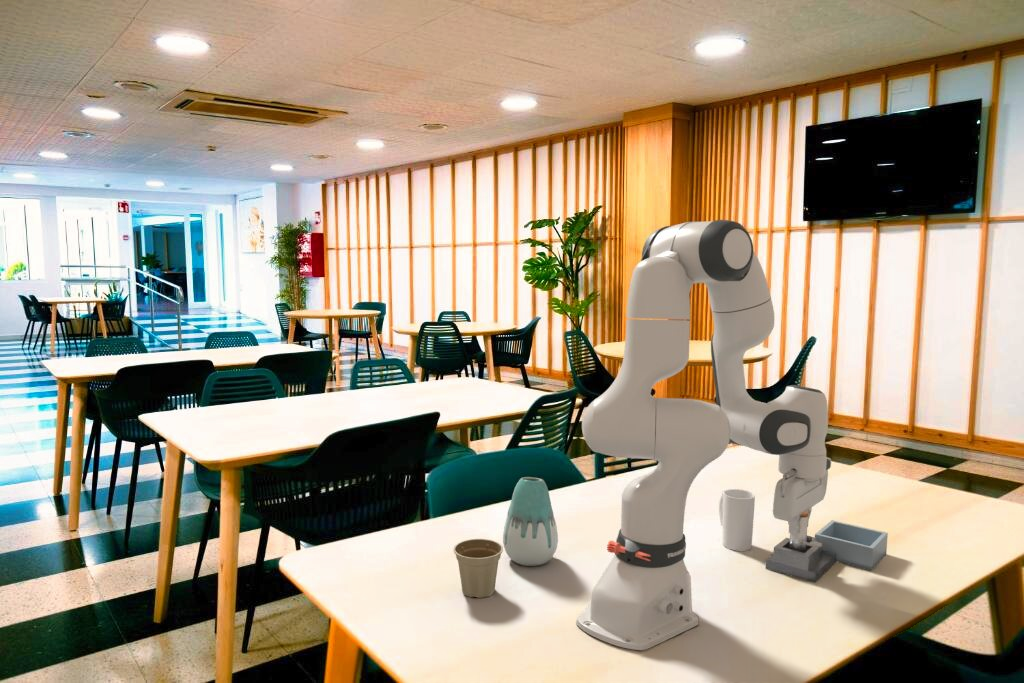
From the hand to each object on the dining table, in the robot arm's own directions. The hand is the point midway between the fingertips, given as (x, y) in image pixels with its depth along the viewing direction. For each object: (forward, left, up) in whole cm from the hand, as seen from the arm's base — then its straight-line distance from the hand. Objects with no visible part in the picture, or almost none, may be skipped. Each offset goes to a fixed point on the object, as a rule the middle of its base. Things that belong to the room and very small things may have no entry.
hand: (798, 530), depth 146 cm
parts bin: (+16, -6, -9) cm, 19 cm away
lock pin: (0, 0, -6) cm, 6 cm away
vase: (-33, +44, -9) cm, 56 cm away
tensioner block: (+3, 0, -9) cm, 9 cm away
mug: (+5, +16, -9) cm, 19 cm away
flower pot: (-51, +42, -9) cm, 67 cm away
